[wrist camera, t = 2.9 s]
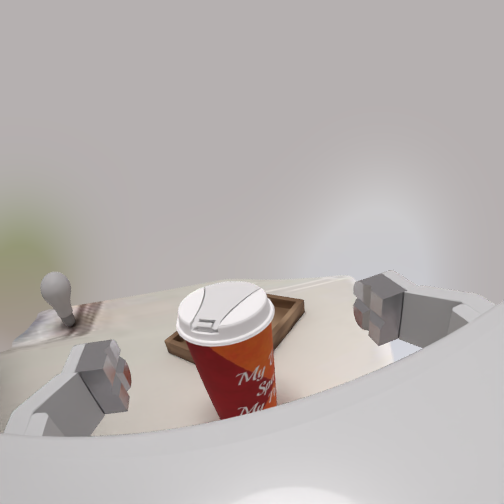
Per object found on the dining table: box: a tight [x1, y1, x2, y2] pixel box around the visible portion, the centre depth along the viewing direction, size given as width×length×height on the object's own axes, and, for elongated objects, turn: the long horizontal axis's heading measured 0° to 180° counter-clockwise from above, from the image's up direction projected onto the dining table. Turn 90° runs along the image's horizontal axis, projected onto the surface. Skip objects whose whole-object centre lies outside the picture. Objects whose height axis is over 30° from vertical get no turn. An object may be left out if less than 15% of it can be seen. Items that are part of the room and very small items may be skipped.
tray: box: [165, 294, 305, 363], centre depth 41 cm, size 16×13×2 cm
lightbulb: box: [41, 272, 75, 327], centre depth 46 cm, size 6×6×11 cm
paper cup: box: [176, 281, 277, 420], centre depth 25 cm, size 8×8×14 cm
